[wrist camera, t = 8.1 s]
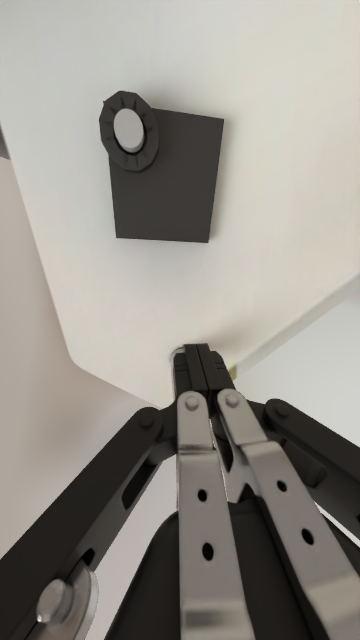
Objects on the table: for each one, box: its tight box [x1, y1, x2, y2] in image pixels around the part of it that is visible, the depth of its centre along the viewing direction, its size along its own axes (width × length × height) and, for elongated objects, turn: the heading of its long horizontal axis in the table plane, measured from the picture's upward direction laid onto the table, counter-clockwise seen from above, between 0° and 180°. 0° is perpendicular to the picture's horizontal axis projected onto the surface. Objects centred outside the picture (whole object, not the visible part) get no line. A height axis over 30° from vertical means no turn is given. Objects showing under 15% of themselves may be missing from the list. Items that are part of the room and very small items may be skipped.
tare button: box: [114, 109, 144, 153], centre depth 17 cm, size 3×3×2 cm
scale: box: [99, 91, 224, 243], centre depth 21 cm, size 12×12×3 cm
